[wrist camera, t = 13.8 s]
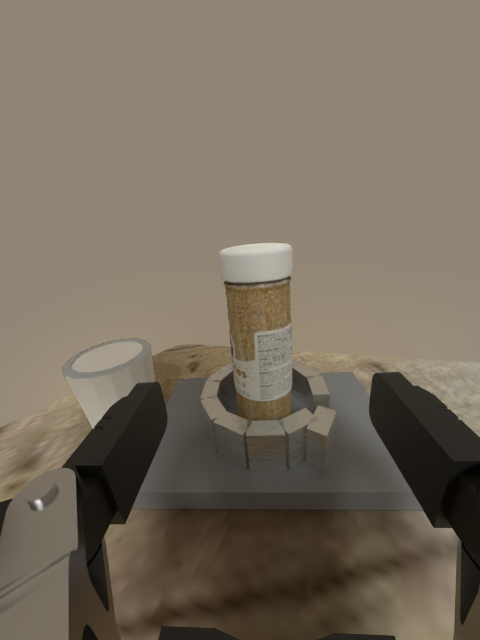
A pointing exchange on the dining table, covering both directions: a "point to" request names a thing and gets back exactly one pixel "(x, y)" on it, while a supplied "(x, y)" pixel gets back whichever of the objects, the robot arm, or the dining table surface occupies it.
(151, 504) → the socket plate
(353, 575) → the dining table surface
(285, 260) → the sprinkles bottle
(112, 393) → the white tapered cup
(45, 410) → the dining table surface
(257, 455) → the stone block collar
